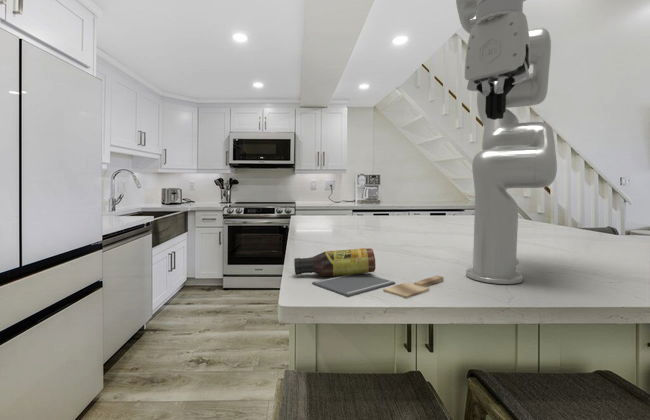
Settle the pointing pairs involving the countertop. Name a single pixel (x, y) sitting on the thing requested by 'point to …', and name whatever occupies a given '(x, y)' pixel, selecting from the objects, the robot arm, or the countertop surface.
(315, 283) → the mat
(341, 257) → the sauce bottle
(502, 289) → the countertop surface
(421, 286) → the turner
